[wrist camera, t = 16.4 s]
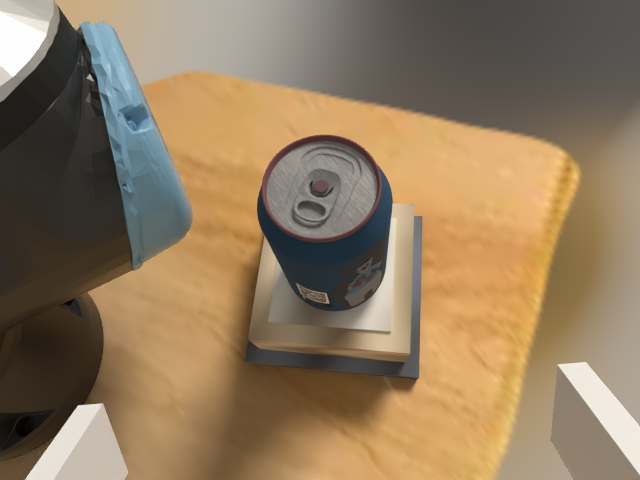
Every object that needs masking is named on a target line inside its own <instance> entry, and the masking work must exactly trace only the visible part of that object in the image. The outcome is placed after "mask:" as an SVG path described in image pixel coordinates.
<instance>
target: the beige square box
mask: <svg viewBox="0 0 640 480" xmlns="http://www.w3.org/2000/svg"><path fill="white" fill-rule="evenodd" d="M421 254H422V216H414V204H395V203H393V204H392V215H391V225H390V234H389V243H388V252H387V262H386V270H385V275H384V278H383V280H382V283H381V285H380V286H379V288H378V289H377V291H376V292H375V293H374V294H373V296H372V297H371V298H369V299H368V300H367V301H366V302H364V303H363V304H361V305H359V306H357V307H355V308H352V309H349V310H344V311H325V310H320V309H317V308H315V307H312V306H310V305H309V304H307V303H305V302H304V301H303V300H301V299H300V298H299V297H298V296H297V295H296V294H295V292H294V291H293V290H292V288H291V286H290V284H289V282H288V280H287V278H286V276H285V274H284V273H283V271H282V269H281V267H280V265H279V263H278V261H277V259H276V257H275V255H274V253H273V251H272V249H271V247H270V245H269V243H268V241H267V239H266V237H265V236H264V242H263V248H262V254H261V260H260V266H259V272H258V278H257V285H256V291H255V297H254V303H253V309H252V315H251V321H250V328H249V334H248V340H249V341H248V347H247V354H246V360H245V361H246V362H248V363H255V364H265V365H275V366H286V367H296V368H307V369H317V370H328V371H338V372H348V373H359V374H369V375H380V376H390V377H400V378H411V379H418V378H419V350H420V302H421Z"/></svg>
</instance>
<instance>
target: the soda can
mask: <svg viewBox="0 0 640 480" xmlns="http://www.w3.org/2000/svg"><path fill="white" fill-rule="evenodd" d="M392 204H393V201H392V192H391V188H390V185H389V182H388V180H387V178H386V176H385V174H384V173H383V171H382V170H381V169H380V167H379V166H378V165H377V164H376V162H375V160H374V159H373V158H372V156H371V155H370V154H369V153H368V152H367V151H366V150H365V149H364V148H363V147H361V146H360V145H359V144H357V143H355V142H353V141H351V140H349V139H346V138H343V137H340V136H334V135H315V136H309V137H306V138H302V139H300V140H297V141H295V142H293V143H291V144H289V145H288V146H286V147H285V148H283V149H282V150H281V151H280V152H279V153H277V154H276V156H275V157H274V158H273V159H272V161H271V162H270V164H269V165H268V167H267V169H266V172H265V174H264V177H263V182H262V186H261V189H260V192H259V196H258V203H257V213H258V220H259V223H260V226H261V229H262V231H263V233H264V235H265V237H266V239H267V241H268V243H269V245H270V247H271V249H272V251H273V253H274V255H275V257H276V259H277V261H278V263H279V265H280V267H281V269H282V271H283V273H284V274H285V276H286V278H287V280H288V282H289V284H290V286H291V288H292V290H293V291H294V292H295V294H296V295H297V296H298V297H299V298H300V299H301V300H303V301H304V302H305V303H307V304H309V305H310V306H312V307H315V308H317V309H320V310H325V311H344V310H349V309H352V308H355V307H357V306H359V305H361V304H363V303H364V302H366V301H367V300H368V299H369V298H371V297H372V296H373V294H374V293H375V292H376V291H377V289H378V288H379V286H380V285H381V283H382V280H383V278H384V275H385V270H386V262H387V252H388V243H389V234H390V225H391V215H392Z"/></svg>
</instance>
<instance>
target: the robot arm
mask: <svg viewBox="0 0 640 480" xmlns="http://www.w3.org/2000/svg"><path fill="white" fill-rule="evenodd" d="M79 25H80V27H79V28H78V30H76V29H74V28H73V27H72V26H71V24H70V23H69V21H68V20H67V18H66V17H65V15H64V14H63V13H62V11H61V10H60V8H59V7H58V5H57V4H56V2H55V0H0V460H5V459H10V458H13V457H16V456H19V455H22V454H24V453H27V452H29V451H31V450H33V449H35V448H37V447H38V446H40V445H42V444H43V443H45V442H46V441H48V440H49V439H50V438H52V437H53V436H54V435H56V434H57V433H58V432H59V433H58V434H57V436H56V437H55V438H54V440H53V441H52V443H51V444H50V445H49V447H48V448H47V450H46V451H45V452H44V454H43V455H42V457H41V458H40V459H39V461H38V462H37V464H36V465H35V466H34V468H33V469H32V470H31V472H30V473H29V475H28V476H27V477H26V479H25V480H125V478H126V476H127V474H128V470H127V467H126V464H125V462H124V459H123V456H122V454H121V451H120V448H119V445H118V443H117V440H116V437H115V435H114V432H113V429H112V426H111V424H110V421H109V418H108V416H107V413H106V410H105V407H104V405H103V403H101V404H89V405H82V404H83V403H84V401H85V400H86V398H87V396H88V394H89V393H90V391H91V389H92V387H93V384H94V382H95V380H96V377H97V374H98V371H99V368H100V364H101V359H102V353H103V327H102V322H101V318H100V314H99V312H98V309H97V307H96V305H95V303H94V301H93V300H92V298H91V297H90V295H89V294H88V293H87V292H88V291H90V290H92V289H94V288H97V287H99V286H101V285H103V284H105V283H107V282H109V281H111V280H113V279H115V278H117V277H119V276H122V275H124V274H126V273H128V272H130V271H134V270H137V269H139V268H140V267H141V266H142V264H143V263H144V262H145V261H147V260H149V259H150V258H152V257H154V256H156V255H157V254H159V253H161V252H163V251H164V250H166V249H168V248H169V247H171V246H173V245H175V244H176V243H178V242H179V241H181V240H182V239H183V238H184V237H185V235H186V233H187V232H188V231H189V229H190V227H191V222H192V208H191V205H190V202H189V199H188V197H187V194H186V192H185V189H184V187H183V184H182V182H181V179H180V177H179V175H178V172H177V170H176V167H175V165H174V163H173V160H172V158H171V156H170V153H169V151H168V148H167V146H166V144H165V141H164V139H163V137H162V134H161V132H160V130H159V127H158V125H157V123H156V121H155V118H154V116H153V114H152V112H151V109H150V107H149V104H148V102H147V100H146V97H145V95H144V93H143V90H142V88H141V86H140V84H139V81H138V79H137V77H136V75H135V72H134V70H133V68H132V66H131V63H130V61H129V59H128V57H127V55H126V52H125V50H124V48H123V46H122V44H121V42H120V40H119V38H118V36H117V33H116V31H115V29H114V28H113V27H112V26H111V25H110V24H108V23H105V22H98V23H95V24H92V23H90V22H83V23H81V24H79ZM551 441H552V443H553V445H554V446H555V448H556V450H557V451H558V453H559V455H560V457H561V458H562V460H563V462H564V464H565V465H566V467H567V468H568V470H569V472H570V474H571V476H572V477H573V479H574V480H640V426H639V425H638V424H637V422H636V421H635V420H634V419H633V418H632V416H631V415H630V414H629V413H628V412H627V411H626V409H625V408H624V407H623V406H622V405H621V403H620V402H619V401H618V400H617V399H616V398H615V396H614V395H613V394H612V393H611V392H610V390H609V389H608V388H607V387H606V386H605V385H604V383H603V382H602V381H601V380H600V379H599V377H598V376H597V375H596V374H595V373H594V371H593V370H592V369H591V368H590V367H589V365H588V364H587V363H586V362H581V363H570V364H558V365H557V376H556V387H555V398H554V409H553V420H552V432H551Z"/></svg>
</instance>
